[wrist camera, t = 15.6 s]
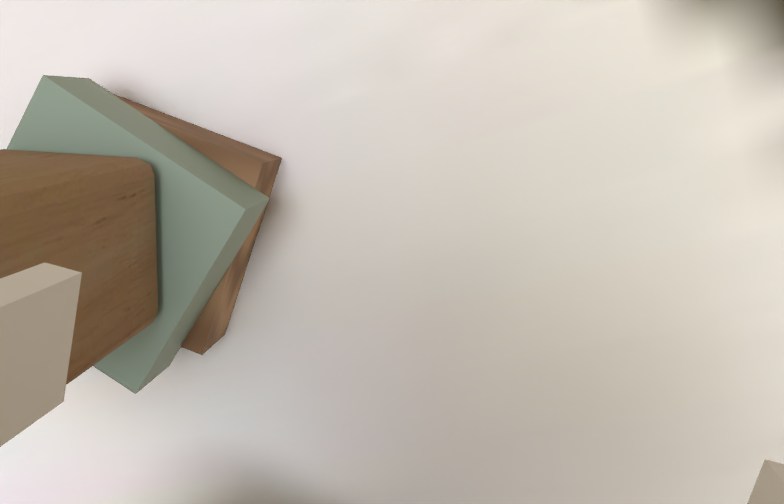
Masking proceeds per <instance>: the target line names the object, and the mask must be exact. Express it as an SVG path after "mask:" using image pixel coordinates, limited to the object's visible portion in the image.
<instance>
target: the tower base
mask: <svg viewBox="0 0 784 504" xmlns="http://www.w3.org/2000/svg"><path fill="white" fill-rule="evenodd" d="M113 95H115V94H113ZM115 96H116V97H118V98H119V99H121V100H122V101H124V102H125V103H127V104H128V105H130V106H131V107H133V108H134V109H136V110H137V111H139V112H140V113H142V114H143V115H145V116H146V117H148V118H149V119H151V120H152V121H154V122H156V123H157V124H159V125H160V126H162V127H163V128H165V129H166V130H168V131H169V132H171V133H172V134H174V135H175V136H177V137H178V138H180V139H181V140H183V141H184V142H186V143H187V144H189V145H190V146H192V147H193V148H195V149H196V150H198V151H199V152H201V153H202V154H204V155H205V156H207V157H208V158H210V159H211V160H213V161H214V162H216V163H217V164H219V165H220V166H222V167H223V168H225V169H227V170H228V171H230V172H231V173H233V174H234V175H236V176H237V177H239V178H240V179H242V180H243V181H245V182H246V183H248V184H249V185H251V186H252V187H254V188H255V189H257V190H258V191H260V192H261V193H263V194H264V195H266V196H267V197H269V196H270V193H271V190H272V187H273V184H274V181H275V177H276V174H277V171H278V168H279V165H280V162H281V159H282V158H280V157H278V156H275V155H273V154H270V153H267V152H265V151H262V150H259V149H257V148H254V147H251V146H249V145H246V144H244V143H241V142H238V141H236V140H233V139H230V138H228V137H225V136H223V135H220V134H217V133H215V132H212V131H209V130H207V129H204V128H201V127H199V126H196V125H194V124H191V123H188V122H186V121H183V120H180V119H178V118H175V117H173V116H170V115H167V114H165V113H162V112H159V111H157V110H154V109H151V108H149V107H146V106H144V105H141V104H138V103H136V102H133V101H130V100H128V99H125V98H122V97H120V96H117V95H115ZM265 208H266V207H265ZM265 208H264V210H263V212H262V213H261V215H260V216H259V218H258V220H257V221H256V223H255V225H254V226H253V228H252V230H251V231H250V233H249V235H248V236H247V238H246V240H245V241H244V243H243V245H242V246H241V248H240V250H239V251H238V253H237V254H236V256H235V258H234V259H233V261H232V263H231V264H230V266H229V268H228V269H227V271H226V273H225V274H224V276H223V278H222V279H221V281H220V283H219V284H218V286H217V287H216V289H215V291H214V292H213V294H212V296H211V297H210V299H209V301H208V302H207V304H206V306H205V307H204V309H203V311H202V312H201V314H200V316H199V317H198V319H197V321H196V322H195V324H194V326H193V327H192V329H191V330H190V332H189V334H188V335H187V337H186V339H185V340H184V342H183V344H182V345H181V347H183V348H186V349H189V350H191V351H194V352H196V353H199V354H201V355H202V354H203V353H205V352H206V351H207V350H208V349H209V348H210V347H211V346H212V345H213V344H215V343H216V342H217V341H218V340H219V339H220V338H221V337H222V336H224V335H225V332H226V329H227V326H228V323H229V320H230V317H231V314H232V311H233V308H234V304H235V301H236V298H237V295H238V292H239V289H240V286H241V283H242V280H243V277H244V273H245V270H246V267H247V264H248V261H249V258H250V255H251V252H252V249H253V246H254V242H255V239H256V236H257V233H258V230H259V227H260V224H261V221H262V218H263V215H264V212H265Z"/></svg>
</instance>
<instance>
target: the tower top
mask: <svg viewBox="0 0 784 504" xmlns="http://www.w3.org/2000/svg"><path fill="white" fill-rule="evenodd" d="M7 150H22V151H38V152H54V153H70V154H87V155H103V156H119V157H135V158H138V159H140V160H142V161H145V162H147V163H149V164H151V166H152V169H153V172H154V175H155V210H156V246H157V282H158V312H157V314H156V317H155V319H154V322H153V323H151V324H150V325H149V326H147V327H146V328H145V329H143V330H142V331H140V332H139V333H138V334H136V335H135V336H133V337H132V338H131V339H129V340H128V341H126V342H125V343H124V344H122V345H121V346H119V347H118V348H117V349H115V350H114V351H112V352H111V353H110V354H108V355H107V356H105V357H104V358H103V359H101V360H100V361H99V362H97V363H96V364H94V365H93V366H94V367H95V368H97V369H98V370H100V371H101V372H103V373H105V374H106V375H108V376H109V377H111V378H112V379H114V380H115V381H117V382H118V383H120V384H121V385H123V386H124V387H126V388H127V389H129V390H130V391H132V392H133V393H135V394H136V393H137V392H138V391H140V390H141V389H142V388H143V387H144V386H146V385H147V384H148V383H149V382H150V381H151V380H153V379H154V378H155V377H156V376H157V375H159V374H160V373H161V372H162V371H163V370H165V369H166V368H167V367H168V366H169V365H170V364H171V362H172V360H173V359H174V357H175V355H176V354H177V352H178V350H179V349H180V347H181V345H182V344H183V342H184V340H185V339H186V337H187V335H188V334H189V332H190V330H191V329H192V327H193V326H194V324H195V322H196V321H197V319H198V317H199V316H200V314H201V312H202V311H203V309H204V307H205V306H206V304H207V302H208V301H209V299H210V297H211V296H212V294H213V292H214V291H215V289H216V287H217V286H218V284H219V283H220V281H221V279H222V278H223V276H224V274H225V273H226V271H227V269H228V268H229V266H230V264H231V263H232V261H233V259H234V258H235V256H236V254H237V253H238V251H239V250H240V248H241V246H242V245H243V243H244V241H245V240H246V238H247V236H248V235H249V233H250V231H251V230H252V228H253V226H254V225H255V223H256V221H257V220H258V218H259V216H260V215H261V213H262V212H263V210H264V208H265V207H266V205H267V203H268V202H269V200H270V198H269V197H267V196H266V195H264V194H263V193H261V192H260V191H258V190H257V189H255V188H254V187H252V186H251V185H249V184H248V183H246V182H245V181H243V180H242V179H240V178H239V177H237V176H236V175H234V174H233V173H231V172H230V171H228V170H227V169H225V168H223V167H222V166H220V165H219V164H217V163H216V162H214V161H213V160H211V159H210V158H208V157H207V156H205V155H204V154H202V153H201V152H199V151H198V150H196V149H195V148H193V147H192V146H190V145H189V144H187V143H186V142H184V141H183V140H181V139H180V138H178V137H177V136H175V135H174V134H172V133H171V132H169V131H168V130H166V129H165V128H163V127H162V126H160V125H159V124H157V123H156V122H154V121H152V120H151V119H149V118H148V117H146V116H145V115H143V114H142V113H140V112H139V111H137V110H136V109H134V108H133V107H131V106H130V105H128V104H127V103H125V102H124V101H122V100H121V99H119V98H118V97H116V96H115V95H113V94H112V93H110V92H109V91H107V90H106V89H104V88H103V87H101V86H100V85H98V84H97V83H95V82H94V81H92V80H91V79H89V78H75V77H61V76H46V75H43V76H42V78H41V80H40V82H39V84H38V86H37V89H36V91H35V93H34V95H33V97H32V99H31V101H30V103H29V105H28V107H27V109H26V111H25V113H24V115H23V117H22V119H21V121H20V123H19V125H18V127H17V129H16V131H15V133H14V135H13V137H12V139H11V141H10V143H9V145H8V147H7Z"/></svg>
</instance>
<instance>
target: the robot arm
mask: <svg viewBox="0 0 784 504" xmlns="http://www.w3.org/2000/svg"><path fill="white" fill-rule="evenodd" d="M81 276H82V272H78V271H75V270H71V269H67V268H64V267H60V266H56V265H53V264H49V263H45V262H44V263H42V264H39V265H36V266H34V267H31V268H28V269H25V270H23V271H20V272H17V273H14V274H12V275H9V276H6V277H3V278H1V279H0V447H1V446H2V445H3V444H5V443H6V442H8V441H9V440H10V439H12V438H13V437H15V436H16V435H17V434H19V433H20V432H22V431H23V430H24V429H26V428H27V427H28V426H30V425H31V424H33V423H34V422H35V421H37V420H38V419H40V418H41V417H42V416H44V415H45V414H47V413H48V412H49V411H51V410H52V409H54V408H55V407H56V406H58V405H59V404H61V403H62V402H63V401H64V394H65V387H66V380H67V373H68V366H69V359H70V352H71V345H72V339H73V332H74V325H75V318H76V311H77V304H78V297H79V290H80V283H81ZM747 504H784V464H780V463H776V462H773V461H769V460H766V459H765V461H764V463H763V466H762V468H761V471H760V473H759V476H758V478H757V481H756V483H755V486H754V488H753V491H752V493H751V496H750V498H749V501H748V503H747Z"/></svg>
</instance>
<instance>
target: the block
mask: <svg viewBox="0 0 784 504" xmlns="http://www.w3.org/2000/svg"><path fill="white" fill-rule="evenodd" d="M44 262H45V263H49V264H53V265H56V266H60V267H64V268H67V269H71V270H75V271H78V272H82V276H81V283H80V290H79V297H78V304H77V311H76V318H75V325H74V332H73V339H72V345H71V352H70V359H69V366H68V373H67V380H66V384H68V383H69V382H71V381H72V380H73V379H75V378H76V377H78V376H79V375H80V374H82V373H83V372H85V371H86V370H87V369H89V368H90V367H92V366H93V365H94V364H96V363H97V362H99V361H100V360H101V359H103V358H104V357H105V356H107V355H108V354H110V353H111V352H112V351H114V350H115V349H117V348H118V347H119V346H121V345H122V344H124V343H125V342H126V341H128V340H129V339H131V338H132V337H133V336H135V335H136V334H138V333H139V332H140V331H142V330H143V329H145V328H146V327H147V326H149V325H150V324H151V323H153V322H154V319H155V317H156V314H157V312H158V282H157V246H156V210H155V175H154V172H153V169H152V166H151V164H149V163H147V162H145V161H142V160H140V159H138V158H135V157H119V156H103V155H87V154H70V153H54V152H38V151H22V150H6V149H3V150H0V279H1V278H3V277H6V276H9V275H12V274H14V273H17V272H20V271H23V270H25V269H28V268H31V267H34V266H36V265H39V264H42V263H44Z"/></svg>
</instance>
